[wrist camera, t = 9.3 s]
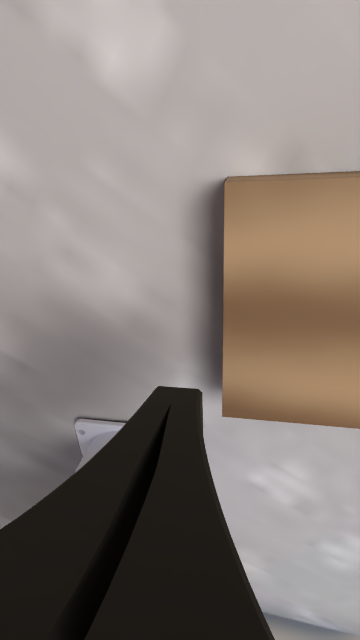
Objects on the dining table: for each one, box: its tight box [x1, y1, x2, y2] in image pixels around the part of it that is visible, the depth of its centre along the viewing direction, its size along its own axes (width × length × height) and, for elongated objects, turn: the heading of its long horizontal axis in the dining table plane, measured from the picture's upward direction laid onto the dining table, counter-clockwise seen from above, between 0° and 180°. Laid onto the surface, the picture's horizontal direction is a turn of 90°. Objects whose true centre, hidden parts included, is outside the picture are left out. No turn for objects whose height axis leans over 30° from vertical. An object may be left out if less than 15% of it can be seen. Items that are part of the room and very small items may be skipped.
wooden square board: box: [222, 171, 360, 429], centre depth 16 cm, size 12×12×3 cm
